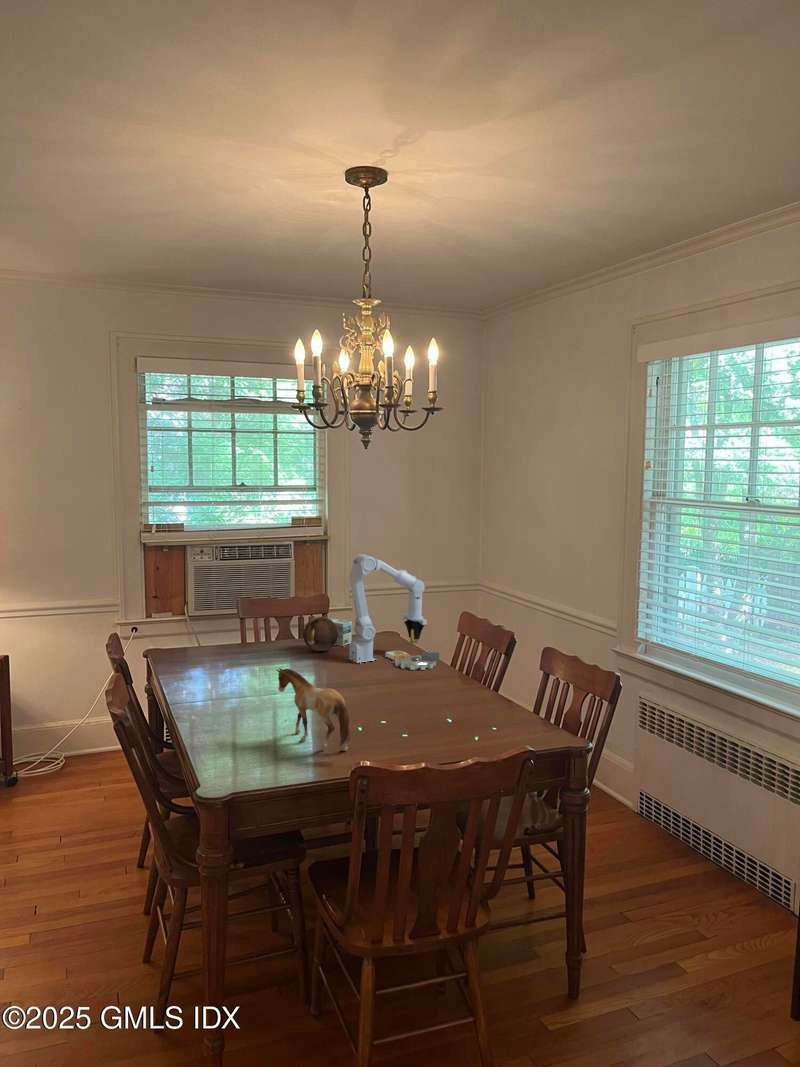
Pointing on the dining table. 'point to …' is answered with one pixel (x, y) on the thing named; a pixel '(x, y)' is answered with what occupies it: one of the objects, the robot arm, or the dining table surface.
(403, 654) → the square open frame
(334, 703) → the horse figurine
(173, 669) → the dining table surface
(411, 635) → the brass pin
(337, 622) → the light bulb box
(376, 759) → the dining table surface
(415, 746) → the dining table surface
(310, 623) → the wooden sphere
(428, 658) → the sprocket
